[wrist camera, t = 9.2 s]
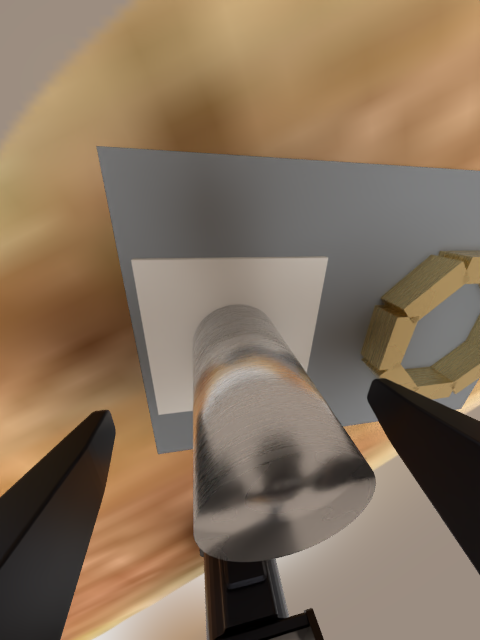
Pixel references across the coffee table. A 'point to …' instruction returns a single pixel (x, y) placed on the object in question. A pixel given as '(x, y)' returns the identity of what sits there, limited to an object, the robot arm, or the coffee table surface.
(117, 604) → the coffee table surface
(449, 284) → the brass octagonal ring
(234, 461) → the peg
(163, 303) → the mat
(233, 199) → the board
